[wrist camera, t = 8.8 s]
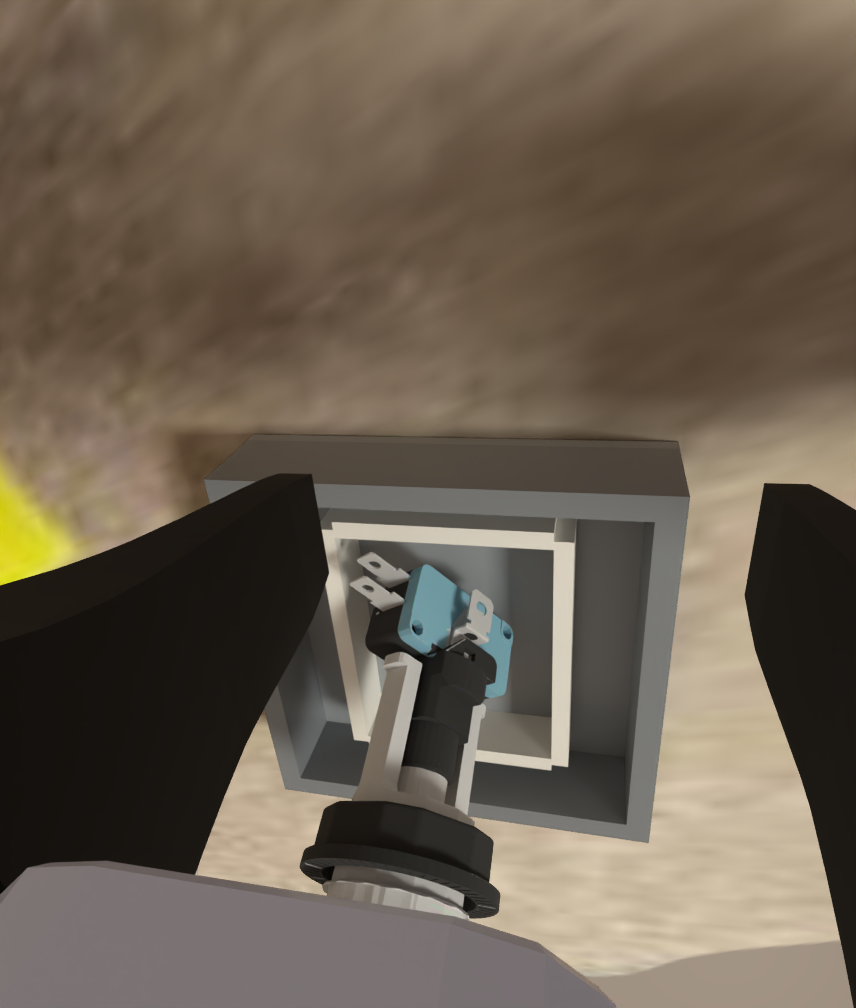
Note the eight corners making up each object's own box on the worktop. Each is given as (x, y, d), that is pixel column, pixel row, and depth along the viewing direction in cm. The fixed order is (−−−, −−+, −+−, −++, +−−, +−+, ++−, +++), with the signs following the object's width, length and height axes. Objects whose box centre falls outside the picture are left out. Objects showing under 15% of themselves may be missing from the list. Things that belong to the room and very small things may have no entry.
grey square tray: (678, 441, 21) (689, 496, 18) (644, 763, 27) (648, 842, 24) (253, 434, 24) (203, 479, 21) (316, 723, 31) (285, 789, 28)
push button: (318, 565, 23) (205, 887, 17) (429, 512, 20) (338, 887, 14) (448, 653, 27) (392, 954, 20) (561, 621, 23) (537, 967, 17)
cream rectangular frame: (577, 501, 22) (574, 534, 20) (570, 730, 27) (568, 772, 25) (335, 491, 24) (313, 521, 22) (370, 707, 28) (355, 745, 27)
